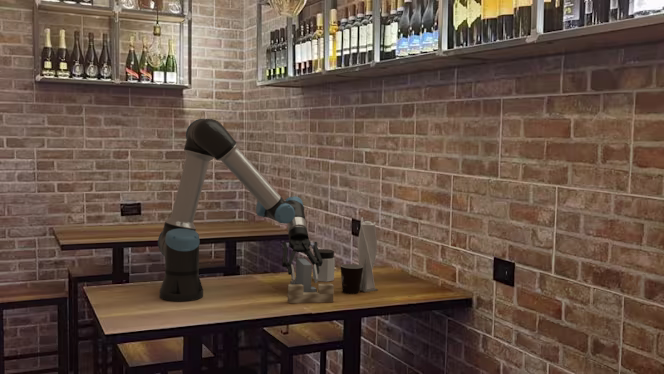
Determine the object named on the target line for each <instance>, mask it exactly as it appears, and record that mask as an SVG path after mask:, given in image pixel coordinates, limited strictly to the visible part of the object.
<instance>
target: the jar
mask: <svg viewBox="0 0 664 374" xmlns="http://www.w3.org/2000/svg"><path fill="white" fill-rule="evenodd" d="M318 250H319V252H320V255H321V258H322V261H323V263H322V266H319V274H317V275H318V281H317V282H322V283H323V282H324V283H325V282H326V283H328V282H332V281H334V280H335V263H336V258H335V251H334V250H333V249H328V248H318ZM313 255H314V257H315V254H314V253H313ZM315 258H316V257H315ZM312 279H313V280H314V274H313V273H312Z"/></svg>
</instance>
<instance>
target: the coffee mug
mask: <svg viewBox="0 0 664 374" xmlns="http://www.w3.org/2000/svg"><path fill="white" fill-rule="evenodd" d="M362 271H363V266H362V265H359V264H356V263H355V264H354V263H343V264H341V265H340V275H341V277H340V278H341V288H342V289H341V290H342V293H343V294H346V295H357V294H359V293H360V291H359V290H360V284H361V277H362Z"/></svg>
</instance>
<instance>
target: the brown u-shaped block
mask: <svg viewBox="0 0 664 374" xmlns="http://www.w3.org/2000/svg"><path fill="white" fill-rule="evenodd" d="M317 284H318V286H317V291H316V292H303V291H304V286H303V285H302V284H290V283H289V284H287V302H288V303H289V304H312V303H313V304H314V303H333V302H334V294H335V293H334V292H335V291H334V289H335V285H334V284H333V283H317Z"/></svg>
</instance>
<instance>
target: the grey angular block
mask: <svg viewBox="0 0 664 374" xmlns="http://www.w3.org/2000/svg"><path fill="white" fill-rule="evenodd" d="M312 279H313V264H312V263H311V262H309V260H307V259H306V258H305V257H295V282H294V283H292V280H290V283H289V285H290V284H302V285H303V286H304V291H303V292H317V288H316V287H315V286H312Z"/></svg>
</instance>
